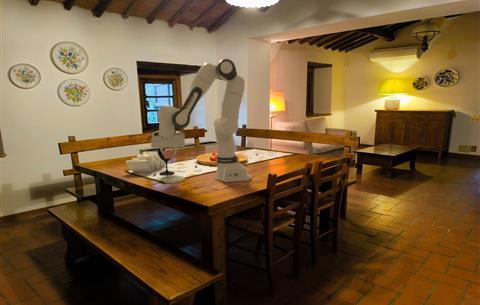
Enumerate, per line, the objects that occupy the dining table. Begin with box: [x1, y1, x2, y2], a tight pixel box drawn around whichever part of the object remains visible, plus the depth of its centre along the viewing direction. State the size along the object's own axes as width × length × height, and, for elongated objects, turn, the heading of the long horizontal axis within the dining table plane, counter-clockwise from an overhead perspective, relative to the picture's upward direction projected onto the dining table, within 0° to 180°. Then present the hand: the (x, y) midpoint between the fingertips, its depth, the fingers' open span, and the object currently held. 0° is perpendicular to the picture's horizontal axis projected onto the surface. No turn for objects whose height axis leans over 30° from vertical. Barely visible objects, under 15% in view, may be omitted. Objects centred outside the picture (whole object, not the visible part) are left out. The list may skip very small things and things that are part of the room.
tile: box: [161, 175, 185, 184], centre depth 192 cm, size 14×14×1 cm
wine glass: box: [157, 148, 176, 176], centre depth 206 cm, size 10×10×20 cm
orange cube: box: [164, 149, 175, 159], centre depth 189 cm, size 5×5×5 cm
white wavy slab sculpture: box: [124, 151, 166, 174], centre depth 222 cm, size 35×16×11 cm, turn 164°
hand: (169, 154), depth 189 cm, fingers closed on orange cube, 5 cm apart
